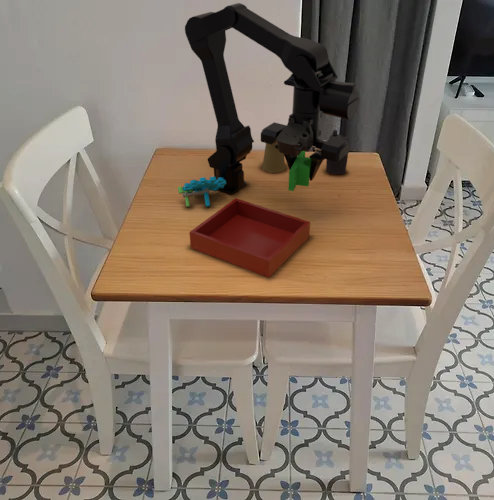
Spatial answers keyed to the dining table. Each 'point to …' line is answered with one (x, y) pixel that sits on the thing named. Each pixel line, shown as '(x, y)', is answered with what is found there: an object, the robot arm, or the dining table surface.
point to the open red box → (250, 236)
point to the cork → (273, 159)
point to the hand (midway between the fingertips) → (301, 177)
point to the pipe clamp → (299, 172)
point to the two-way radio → (340, 166)
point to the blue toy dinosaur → (201, 188)
